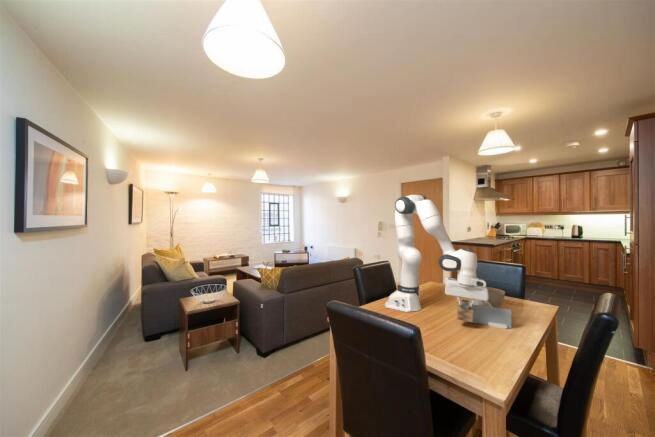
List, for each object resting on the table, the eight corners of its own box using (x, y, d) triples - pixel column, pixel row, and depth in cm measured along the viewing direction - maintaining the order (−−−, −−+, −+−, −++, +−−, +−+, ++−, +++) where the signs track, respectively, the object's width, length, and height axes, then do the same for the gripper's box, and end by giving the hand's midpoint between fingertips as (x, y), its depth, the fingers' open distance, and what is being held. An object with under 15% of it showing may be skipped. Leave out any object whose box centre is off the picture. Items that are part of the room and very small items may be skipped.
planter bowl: (509, 308, 159) (509, 290, 159) (498, 314, 150) (497, 295, 150) (482, 301, 172) (482, 285, 172) (470, 306, 163) (469, 289, 163)
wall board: (464, 322, 139) (464, 305, 139) (464, 319, 143) (464, 303, 143) (511, 329, 130) (511, 311, 130) (510, 326, 133) (510, 309, 133)
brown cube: (457, 319, 134) (457, 302, 133) (457, 314, 140) (457, 298, 139) (472, 322, 130) (473, 304, 130) (471, 317, 137) (472, 300, 136)
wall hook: (501, 317, 143) (496, 300, 144) (481, 320, 145) (477, 303, 146) (495, 312, 151) (490, 295, 152) (476, 315, 153) (472, 299, 154)
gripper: (444, 278, 136) (443, 303, 137) (489, 284, 127) (488, 311, 127) (445, 275, 142) (443, 300, 142) (488, 281, 133) (487, 307, 133)
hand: (465, 305), depth 135 cm, fingers closed on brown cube, 3 cm apart
